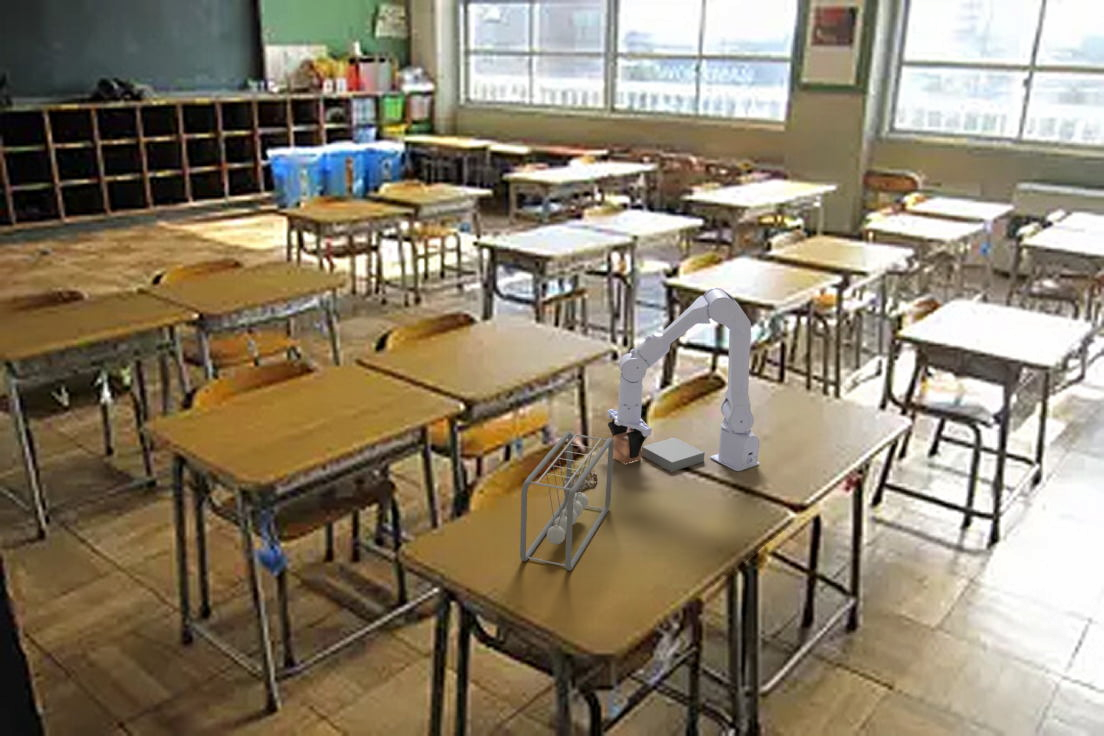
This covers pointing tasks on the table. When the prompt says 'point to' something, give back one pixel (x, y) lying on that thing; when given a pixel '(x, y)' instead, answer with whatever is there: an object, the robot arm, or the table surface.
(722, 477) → the table surface
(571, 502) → the newton's cradle
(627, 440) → the terracotta cube
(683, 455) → the gray plinth
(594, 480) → the mineral rock
